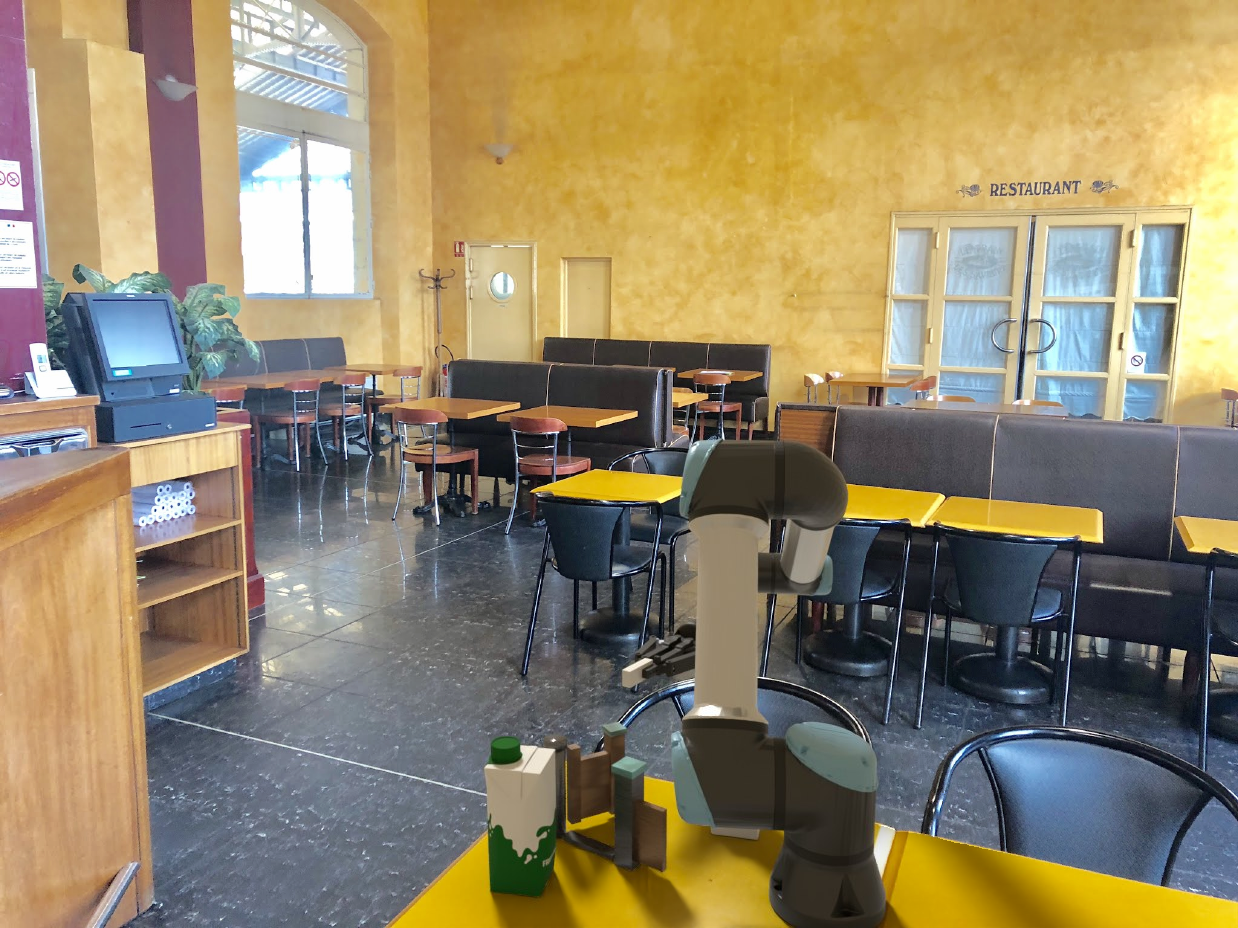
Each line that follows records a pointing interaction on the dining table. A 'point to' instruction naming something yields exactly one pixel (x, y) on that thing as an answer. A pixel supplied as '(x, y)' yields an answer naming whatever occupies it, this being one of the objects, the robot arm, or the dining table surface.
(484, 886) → the dining table surface
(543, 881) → the milk carton
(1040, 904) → the dining table surface
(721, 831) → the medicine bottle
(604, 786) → the gate
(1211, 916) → the dining table surface
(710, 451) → the robot arm
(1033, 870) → the dining table surface
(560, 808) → the gate posts
